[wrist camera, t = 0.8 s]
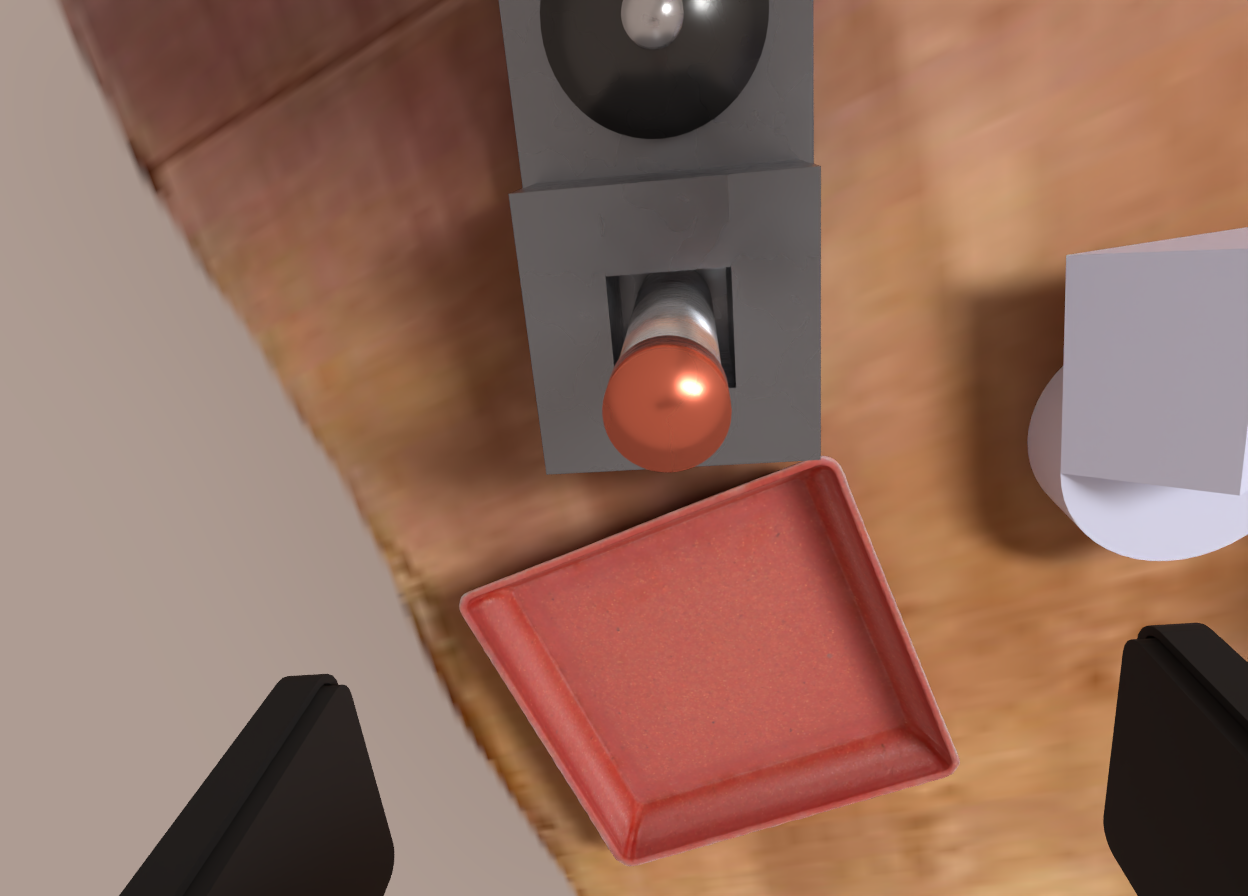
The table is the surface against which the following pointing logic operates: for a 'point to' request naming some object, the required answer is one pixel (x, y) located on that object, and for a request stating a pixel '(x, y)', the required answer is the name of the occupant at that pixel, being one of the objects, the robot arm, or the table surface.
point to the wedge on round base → (1151, 398)
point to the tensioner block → (668, 205)
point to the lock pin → (669, 378)
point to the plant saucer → (719, 667)
